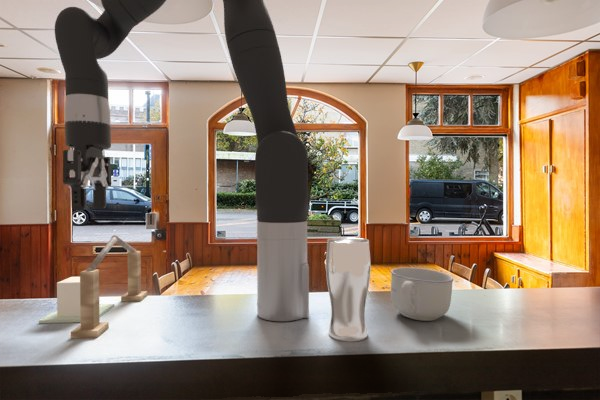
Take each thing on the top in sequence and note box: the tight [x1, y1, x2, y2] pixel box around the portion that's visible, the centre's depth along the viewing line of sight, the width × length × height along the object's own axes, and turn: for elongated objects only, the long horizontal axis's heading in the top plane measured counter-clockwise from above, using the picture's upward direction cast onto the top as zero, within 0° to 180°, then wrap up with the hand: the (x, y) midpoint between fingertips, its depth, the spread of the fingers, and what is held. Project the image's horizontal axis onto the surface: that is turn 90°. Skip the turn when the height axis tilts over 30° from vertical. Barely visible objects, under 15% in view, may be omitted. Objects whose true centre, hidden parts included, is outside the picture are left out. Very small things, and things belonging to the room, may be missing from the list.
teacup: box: [390, 267, 454, 322], centre depth 68 cm, size 14×11×8 cm
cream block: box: [56, 276, 81, 316], centre depth 70 cm, size 5×5×6 cm
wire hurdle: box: [70, 234, 148, 339], centre depth 71 cm, size 4×24×15 cm, turn 5°
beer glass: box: [325, 237, 371, 343], centre depth 60 cm, size 7×7×15 cm
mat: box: [38, 303, 115, 324], centre depth 70 cm, size 9×9×1 cm
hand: (90, 208), depth 72 cm, fingers open, 8 cm apart
